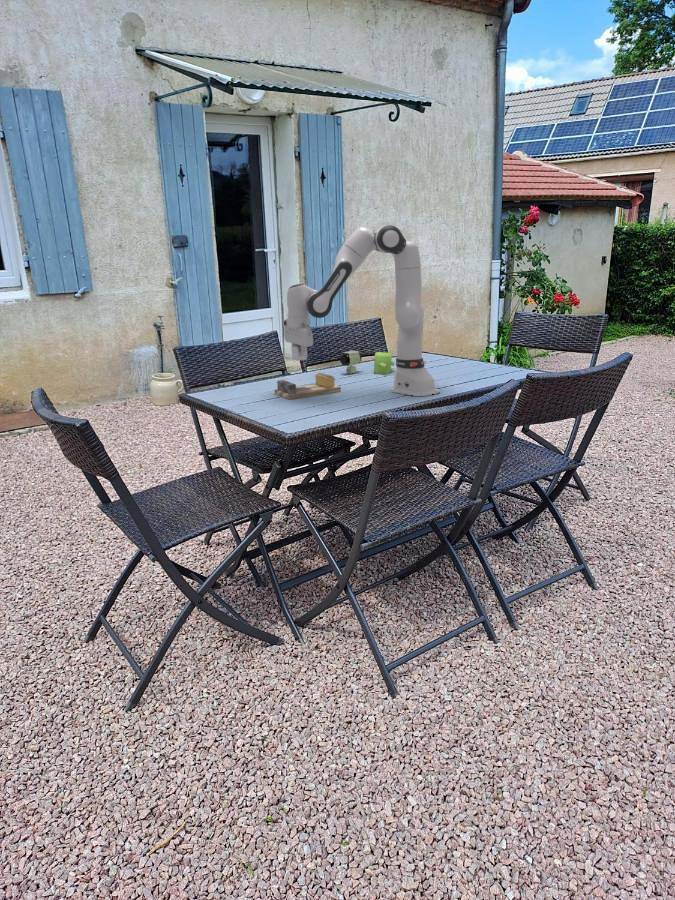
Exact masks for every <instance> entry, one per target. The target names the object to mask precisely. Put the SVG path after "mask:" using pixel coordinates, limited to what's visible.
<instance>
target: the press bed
mask: <svg viewBox="0 0 675 900" xmlns="http://www.w3.org/2000/svg"><path fill="white" fill-rule="evenodd" d="M276 382H277V383H276V384H277V388H276V389H274V394H275V395H276V394H277V395H276V396H279V397H281V396H282V398H283V399H287V400H289V401H290V400H296V398H297V399H303V398H308V397H309V396H310V397H315V396H316V397H317V396H321V395H328V394H334V393H341V392H342V389H341V386H338V385H335V384H334V387H324V386H321V385H318V384H316V383H310V384H303V385H298V386H297V384H296V383H292V382H290V381H287V380H285V379H282V380H277V381H276ZM302 397H303V398H302Z"/></svg>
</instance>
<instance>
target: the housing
mask: <svg viewBox="0 0 675 900" xmlns="http://www.w3.org/2000/svg"><path fill="white" fill-rule="evenodd" d="M290 347H291V349H290V350H291V360H293V361H297V362H300V361H306V360H308V347H307V348H306V351H305V356H301V355H300V352H301V345H290Z"/></svg>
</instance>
